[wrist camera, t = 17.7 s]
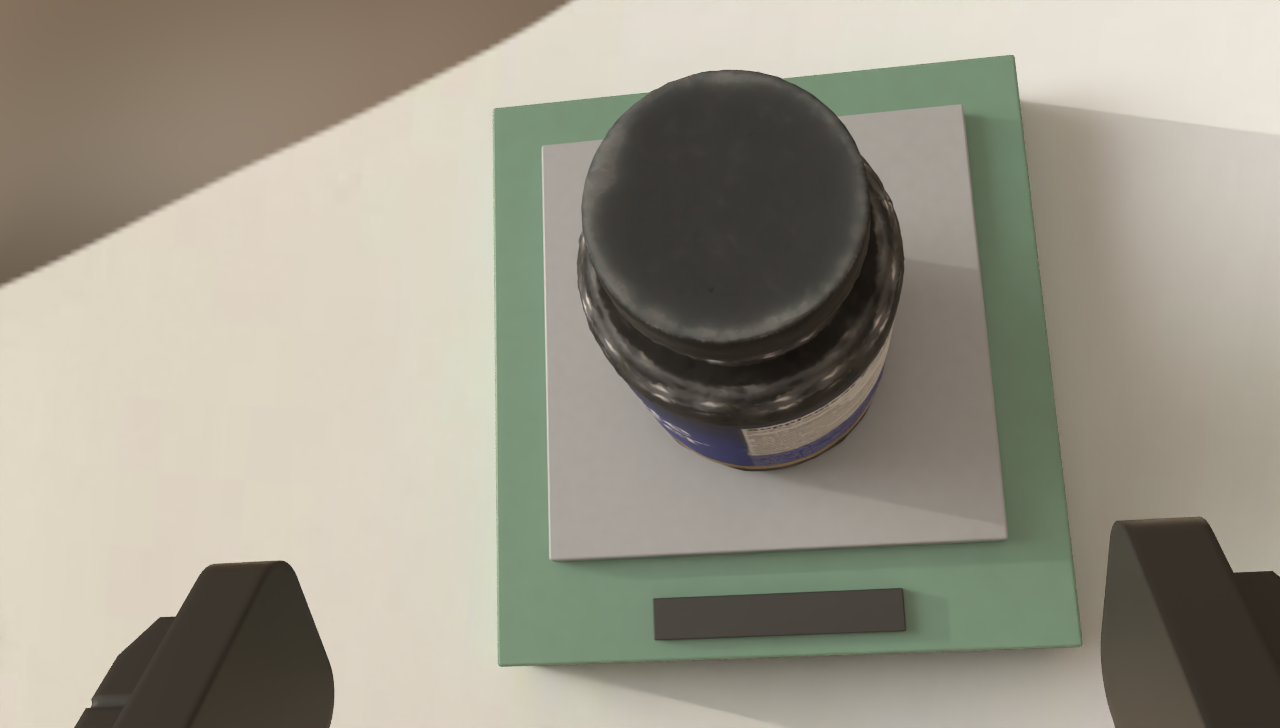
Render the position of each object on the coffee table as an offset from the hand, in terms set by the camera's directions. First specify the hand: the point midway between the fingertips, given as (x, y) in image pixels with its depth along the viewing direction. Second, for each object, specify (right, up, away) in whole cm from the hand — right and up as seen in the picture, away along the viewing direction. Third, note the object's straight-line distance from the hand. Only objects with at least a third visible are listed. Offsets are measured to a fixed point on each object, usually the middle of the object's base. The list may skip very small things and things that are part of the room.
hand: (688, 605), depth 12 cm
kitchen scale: (+3, +2, +21) cm, 21 cm away
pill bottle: (+3, +3, +18) cm, 18 cm away
